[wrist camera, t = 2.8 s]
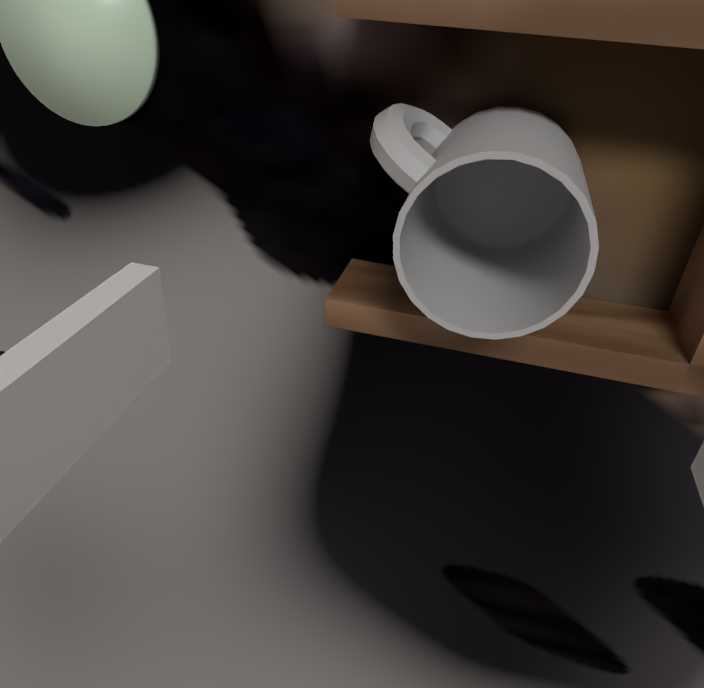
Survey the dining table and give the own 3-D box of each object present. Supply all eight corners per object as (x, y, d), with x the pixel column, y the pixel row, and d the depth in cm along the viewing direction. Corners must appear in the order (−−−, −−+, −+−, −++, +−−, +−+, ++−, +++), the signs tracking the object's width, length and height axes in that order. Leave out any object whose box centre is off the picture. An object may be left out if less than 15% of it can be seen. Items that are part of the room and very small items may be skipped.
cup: (505, 278, 31) (496, 371, 24) (355, 156, 30) (297, 215, 22) (616, 171, 27) (647, 244, 20) (448, 25, 26) (415, 44, 18)
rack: (370, -30, 25) (338, -31, 21) (837, 4, 22) (907, 10, 18) (350, 282, 33) (324, 325, 29) (688, 341, 30) (713, 399, 26)
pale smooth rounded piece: (-21, -83, 28) (-31, -84, 28) (147, -72, 27) (140, -73, 26) (24, 114, 33) (16, 116, 33) (169, 133, 31) (163, 135, 31)
